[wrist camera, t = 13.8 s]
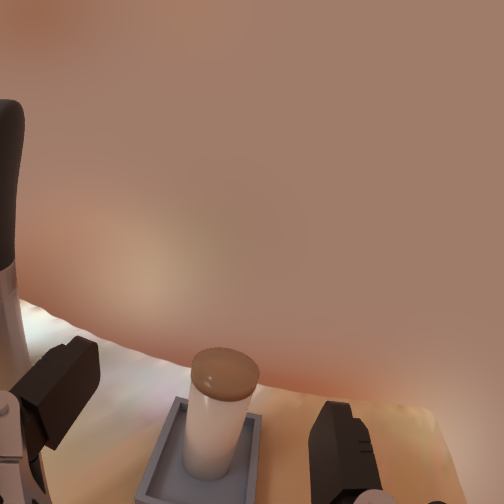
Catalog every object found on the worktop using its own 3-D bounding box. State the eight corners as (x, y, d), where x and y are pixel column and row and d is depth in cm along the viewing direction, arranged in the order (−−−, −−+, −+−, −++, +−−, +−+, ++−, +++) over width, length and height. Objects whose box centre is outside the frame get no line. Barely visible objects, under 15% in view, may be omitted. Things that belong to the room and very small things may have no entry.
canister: (175, 474, 24) (184, 379, 20) (187, 440, 29) (200, 341, 25) (226, 487, 24) (257, 396, 20) (232, 450, 29) (261, 355, 25)
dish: (135, 506, 20) (134, 498, 19) (175, 406, 35) (175, 396, 34) (248, 532, 19) (252, 525, 19) (258, 425, 34) (261, 415, 34)
